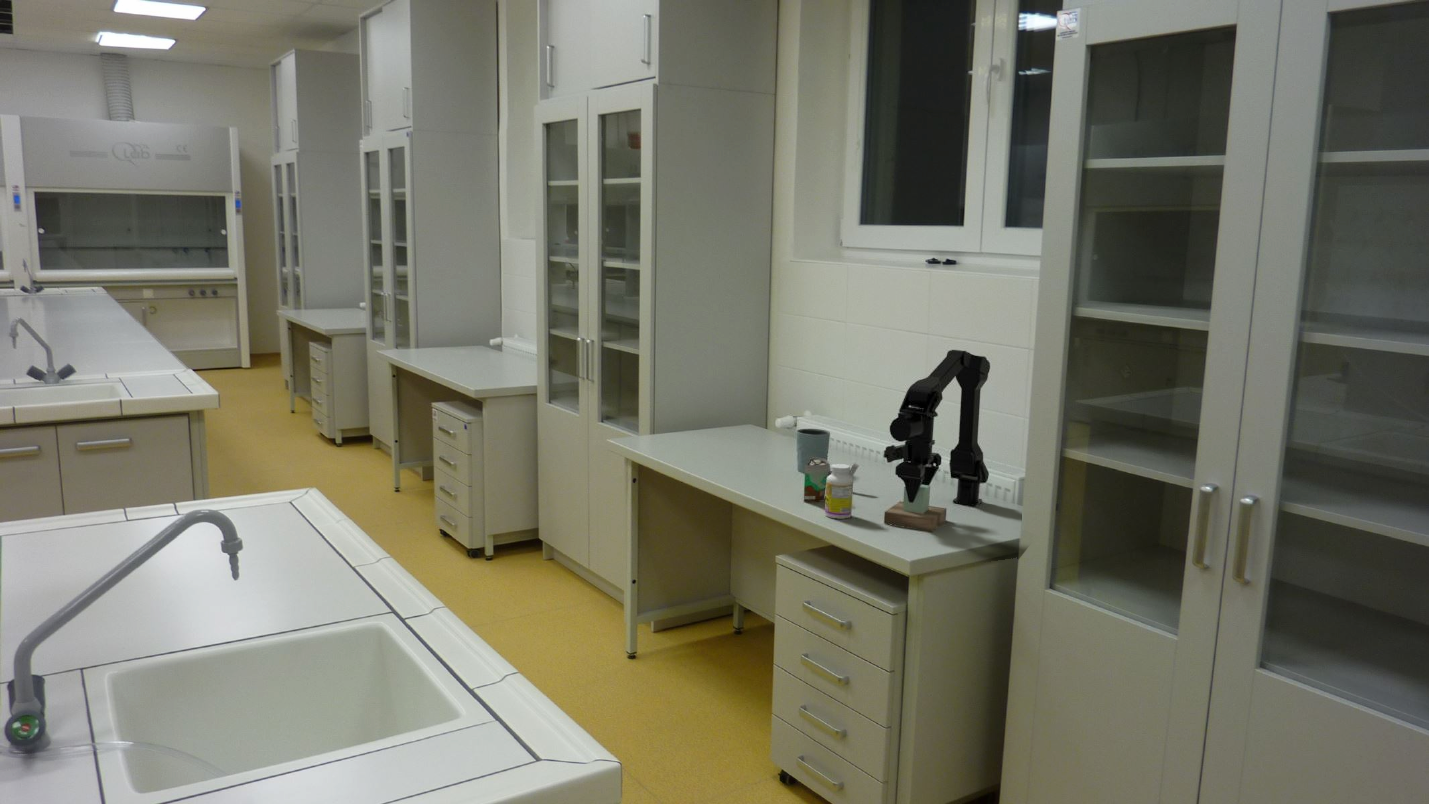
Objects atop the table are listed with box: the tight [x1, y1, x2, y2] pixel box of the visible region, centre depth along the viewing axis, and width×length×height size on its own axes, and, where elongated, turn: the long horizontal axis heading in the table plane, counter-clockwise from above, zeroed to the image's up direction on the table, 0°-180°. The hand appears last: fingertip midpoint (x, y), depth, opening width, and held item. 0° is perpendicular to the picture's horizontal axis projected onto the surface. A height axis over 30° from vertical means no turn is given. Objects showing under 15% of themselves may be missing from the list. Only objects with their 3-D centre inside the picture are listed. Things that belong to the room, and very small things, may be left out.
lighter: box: [849, 462, 860, 478], centre depth 278 cm, size 7×2×8 cm, turn 69°
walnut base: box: [883, 500, 948, 532], centre depth 250 cm, size 12×12×3 cm
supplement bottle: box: [824, 463, 854, 520], centre depth 252 cm, size 7×7×13 cm
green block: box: [902, 485, 931, 514], centre depth 249 cm, size 5×5×6 cm
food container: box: [803, 457, 831, 503], centre depth 269 cm, size 12×6×10 cm, turn 168°
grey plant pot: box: [795, 428, 831, 474], centre depth 300 cm, size 10×10×12 cm
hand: (916, 498), depth 249 cm, fingers open, 9 cm apart
